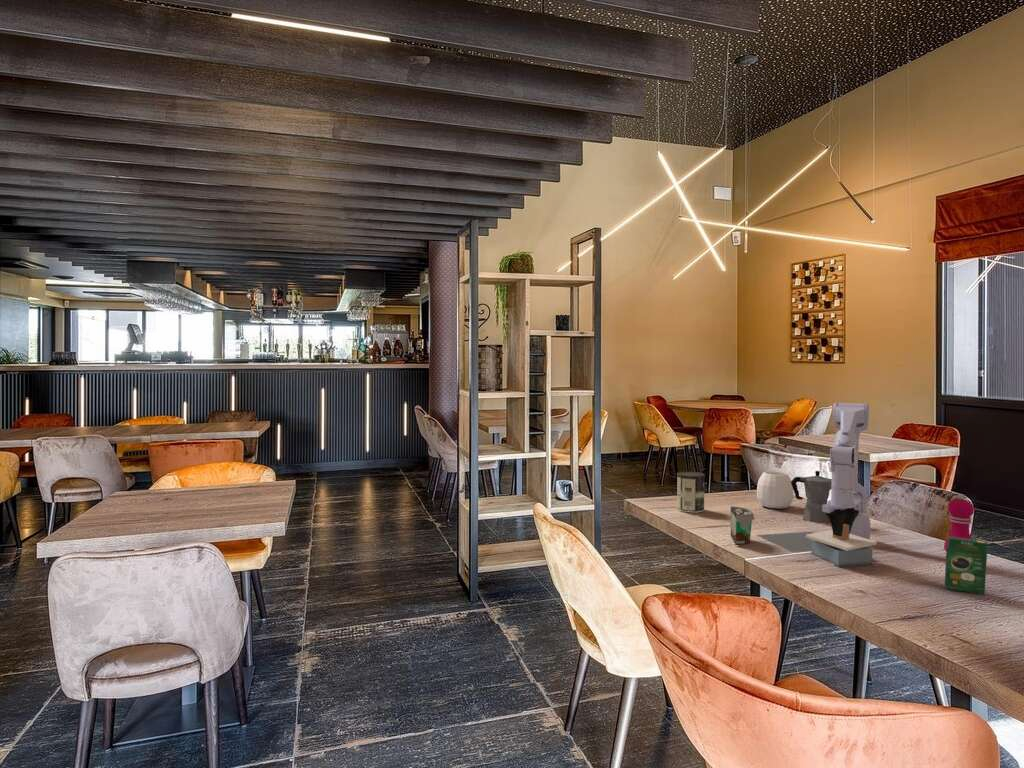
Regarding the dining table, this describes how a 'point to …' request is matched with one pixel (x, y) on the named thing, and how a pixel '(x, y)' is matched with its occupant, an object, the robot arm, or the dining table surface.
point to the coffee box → (966, 565)
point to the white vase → (775, 490)
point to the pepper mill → (960, 518)
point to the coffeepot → (814, 496)
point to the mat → (790, 541)
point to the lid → (841, 539)
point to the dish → (842, 555)
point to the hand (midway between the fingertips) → (841, 534)
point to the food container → (741, 525)
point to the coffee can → (690, 492)
